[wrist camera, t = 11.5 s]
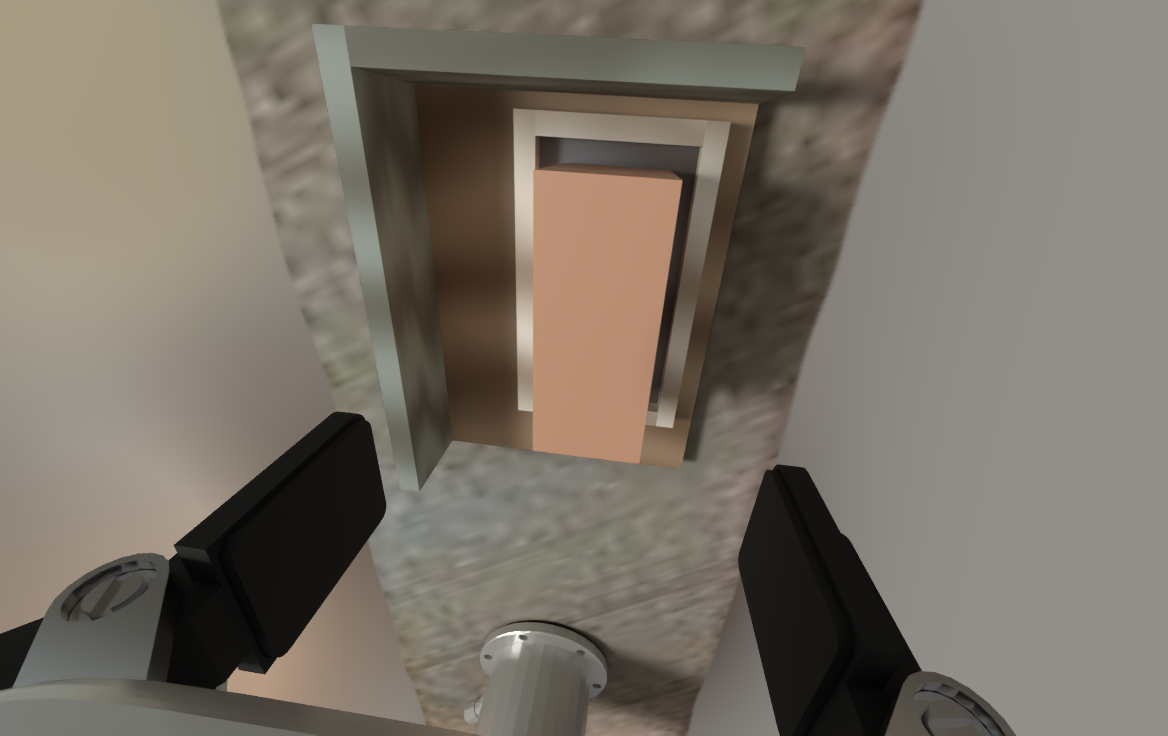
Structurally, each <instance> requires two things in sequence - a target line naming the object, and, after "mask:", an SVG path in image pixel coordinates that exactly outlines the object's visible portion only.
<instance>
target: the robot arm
mask: <svg viewBox="0 0 1168 736" xmlns="http://www.w3.org/2000/svg"><path fill="white" fill-rule="evenodd" d="M385 511H386V500H385V495H384V490H383V485H382V480H381V475H380V470H379V464H378V459H377V454H376V449H375V444H374V439H373V434H372V429H371V425H370V423H369V422H368V421H365V418H364V417H363V416H362V415H360V414H355V413H346V412H334V413H332V414H331V415H330V416H328V417H327V418H326V419H325V420H324V421H322V422H321V423H320V424H319V425H318V426H316V427H315V428H314V429H313V430H312V431H310V432H309V433H308V434H307V435H306V436H304V437H303V438H302V439H301V440H300V441H298V442H297V443H296V444H295V445H294V446H292V447H291V448H290V449H289V450H288V451H286V452H285V453H284V454H283V455H282V456H280V457H279V458H278V459H277V460H276V461H274V462H273V463H272V464H271V465H270V466H268V467H267V468H266V469H265V470H263V471H262V472H261V473H260V474H259V475H257V476H256V477H255V478H254V479H253V480H251V481H250V482H249V483H248V484H247V485H245V486H244V487H243V488H242V489H241V490H239V491H238V492H237V493H236V494H235V495H233V496H232V497H231V498H230V499H229V500H228V501H226V502H225V503H224V504H223V505H221V506H220V507H219V508H218V509H217V510H215V511H214V512H213V513H212V514H211V515H209V516H208V517H207V518H206V519H205V520H203V521H202V522H201V523H200V524H199V525H197V526H196V527H195V528H194V529H193V530H191V531H190V532H189V533H188V534H187V535H185V536H184V537H183V538H182V539H181V540H179V541H178V542H177V543H176V544H175V545H174V547H175V549H176V551H177V554H176V555H174V556H173V557H172V558H171V559H170V560H169V561H168V560H167V559H166V558H165V557H164V556H163V555H159V554H155V553H143V554H142V553H141V554H135V555H131V556H127V557H122V558H119V559H117V560H114V561H112V562H109V563H106V564H104V565H102V566H100V567H98V568H96V569H94V570H92V571H90V572H88V573H87V574H85V575H84V576H82V577H81V578H79V579H78V580H76V581H75V582H73V583H72V584H70V585H69V586H68V587H67V588H66V589H65V590H64V591H63V592H62V593H61V594H60V595H58V596H57V597H56V598H55V600H54V601H53V603H52V604H51V606H50V607H49V609H48V610H47V612H46V614H45V616H44V618H41V619H39V620H36V621H33V622H30V623H28V624H25V625H22V626H20V627H17V628H15V629H12V630H9V631H7V632H4V633H1V634H0V736H585V735H586V724H587V713H588V703H589V700H591V699H593V698H594V697H596V696H597V695H598V694H599V693H601V692H602V690H603V689H604V687H605V686H606V681H607V663H606V660H605V658H604V656H603V655H602V653H601V651H600V650H599V649H598V648H597V647H596V646H595V645H594V644H593V643H591V642H590V641H589V640H587V639H586V638H585V637H583V636H581V635H579V634H577V633H575V632H573V631H571V630H568V629H566V628H563V627H559V626H556V625H552V624H546V623H539V622H521V623H514V624H510V625H506V626H503V627H501V628H499V629H497V630H495V631H494V632H492V633H491V634H490V635H489V636H488V637H487V638H486V640H485V642H484V645H483V648H482V650H481V655H480V662H481V666H482V668H483V670H484V672H485V674H486V675H487V676H488V678H489V682H488V685H487V689H486V690H485V691H484V692H483V694H482V696H481V697H478V698H476V699H474V700H472V701H470V702H468V703H467V705H466V706H465V709H464V718H465V720H466V722H467V723H469V724H475V723H477V726H476V729H475V733H474V734H472V733H466V732H460V731H455V730H449V729H443V728H438V727H432V726H426V725H420V724H415V723H409V722H403V721H398V720H392V719H386V718H381V717H375V716H369V715H363V714H357V713H352V712H345V711H340V710H333V709H328V708H322V707H316V706H311V705H305V704H299V703H293V702H287V701H281V700H275V699H270V698H263V697H258V696H252V695H246V694H239V693H233V692H227V679H228V678H229V676H230V675H231V674H232V673H233V671H234V670H235V669H236V668H237V667H238V668H239V670H243V671H248V672H254V673H260V674H266V672H267V671H268V669H269V668H270V667H271V665H272V664H273V662H274V661H275V660H276V658H277V657H282V656H283V655H285V654H286V653H287V652H288V651H289V649H290V648H291V647H292V645H293V644H294V643H295V641H296V640H297V638H298V637H299V636H300V634H301V633H302V631H303V630H304V629H305V627H306V626H307V624H308V623H309V622H310V620H311V619H312V617H313V616H314V615H315V613H316V612H317V610H318V609H319V608H320V606H321V605H322V603H323V602H324V600H325V599H326V597H327V596H328V595H329V593H330V592H331V591H332V589H333V588H334V586H335V585H336V584H337V582H338V581H339V579H340V578H341V577H342V575H343V574H344V572H345V571H346V570H347V568H348V567H349V565H350V564H351V562H352V561H353V560H354V558H355V557H356V555H357V554H358V553H359V551H360V550H361V548H362V547H363V546H364V544H365V543H366V541H367V540H368V539H369V537H370V536H371V534H372V533H373V532H374V530H375V529H376V527H377V526H378V525H379V523H380V522H381V520H382V519H383V517H384V514H385ZM738 564H739V571H740V575H741V579H742V583H743V587H744V591H745V595H746V599H747V603H748V608H749V612H750V615H751V620H752V624H753V628H754V632H755V637H756V640H757V645H758V649H759V653H760V657H761V661H762V665H763V669H764V674H765V678H766V681H767V686H768V690H769V694H770V698H771V702H772V707H773V710H774V715H775V719H776V723H777V727H778V731H779V734H780V736H1016V735H1015V733H1014V732H1013V731H1012V729H1011V728H1010V726H1009V725H1008V724H1007V722H1006V721H1005V719H1004V718H1003V717H1002V716H1001V715H1000V714H999V713H998V712H997V711H996V710H995V709H994V708H993V707H992V706H991V705H990V704H989V703H988V702H987V701H985V700H984V699H983V698H981V697H980V696H979V695H977V694H976V693H975V692H974V691H973V690H971V689H970V688H968V687H967V686H965V685H963V684H961V683H959V682H958V681H956V680H954V679H952V678H950V677H947V676H944V675H941V674H938V673H936V672H926V671H925V672H924V671H922V670H921V669H920V667H919V665H918V663H917V661H916V660H915V658H914V656H913V654H912V652H911V650H910V649H909V647H908V645H907V643H906V641H905V639H904V638H903V636H902V634H901V632H900V630H899V629H898V627H897V625H896V623H895V621H894V619H893V618H892V616H891V614H890V612H889V610H888V609H887V607H886V605H885V603H884V601H883V600H882V598H881V596H880V594H879V593H878V591H877V589H876V587H875V585H874V583H873V581H872V580H871V578H870V576H869V574H868V572H867V570H866V569H865V567H864V565H863V563H862V561H861V560H860V558H859V556H858V554H857V552H856V551H855V549H854V547H853V545H852V543H851V542H850V541H849V539H848V538H847V537H846V536H844V535H843V534H841V533H840V531H839V529H838V527H837V525H836V523H835V522H834V520H833V518H832V516H831V514H830V512H829V510H828V509H827V507H826V505H825V503H824V501H823V499H822V497H821V495H820V494H819V492H818V490H817V488H816V486H815V484H814V482H813V481H812V479H811V477H810V475H809V473H808V472H807V470H806V469H805V468H803V467H795V466H787V465H779V464H778V465H776V466H775V467H774V469H773V470H767V471H766V472H765V474H764V477H763V480H762V483H761V486H760V489H759V492H758V495H757V499H756V502H755V505H754V508H753V511H752V514H751V517H750V520H749V523H748V527H747V530H746V533H745V536H744V539H743V542H742V545H741V548H740V552H739V558H738Z"/></svg>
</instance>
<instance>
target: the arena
mask: <svg viewBox="0 0 1168 736" xmlns="http://www.w3.org/2000/svg"><path fill="white" fill-rule="evenodd" d="M312 29H313V34H314V39H315V45H316V50H317V55H318V60H319V66H320V71H321V76H322V81H323V87H324V92H325V97H326V102H327V108H328V113H329V118H330V123H331V129H332V134H333V139H334V144H335V150H336V155H337V160H338V165H339V171H340V176H341V181H342V186H343V192H344V197H345V202H346V207H347V213H348V218H349V223H350V228H351V234H352V239H353V244H354V249H355V255H356V260H357V265H358V270H359V276H360V281H361V286H362V291H363V297H364V302H365V307H366V312H367V318H368V323H369V328H370V333H371V339H372V344H373V349H374V354H375V360H376V365H377V370H378V375H379V381H380V386H381V391H382V396H383V402H384V407H385V412H386V417H387V423H388V428H389V433H390V438H391V444H392V449H393V454H394V459H395V465H396V470H397V475H398V480H399V486H400V489H405V490H413V491H420V490H421V488H422V487H423V485H424V484H425V482H426V480H427V479H428V477H429V476H430V474H431V473H432V471H433V470H434V468H435V466H436V465H437V463H438V462H439V460H440V459H441V457H442V456H443V454H444V452H445V451H446V449H447V448H448V446H449V445H450V443H451V442H452V440H454V441H462V442H470V443H478V444H486V445H494V446H503V447H511V448H519V449H527V450H533V170H534V169H539V168H543V167H548V166H553V165H557V164H562V163H577V164H591V165H605V166H620V167H634V168H648V169H663V170H671V171H672V172H673V173H674V174H675V175H677V176H678V177H679V178H680V179H682V187H681V194H680V200H679V207H678V213H677V220H676V226H675V233H674V239H673V246H672V253H671V259H670V266H669V272H668V279H667V285H666V292H665V298H664V305H663V312H662V318H661V325H660V331H659V338H658V344H657V351H656V357H655V364H654V371H653V377H652V384H651V390H650V397H649V403H648V410H647V416H646V423H645V430H644V436H643V443H642V449H641V456H640V462H639V464H647V465H655V466H664V467H672V468H680V469H681V466H682V461H683V457H684V452H685V447H686V443H687V438H688V433H689V429H690V424H691V419H692V415H693V410H694V405H695V401H696V396H697V391H698V387H699V382H700V377H701V373H702V368H703V363H704V358H705V354H706V349H707V344H708V340H709V335H710V330H711V326H712V321H713V316H714V312H715V307H716V302H717V298H718V293H719V288H720V284H721V279H722V274H723V270H724V265H725V260H726V255H727V251H728V246H729V241H730V237H731V232H732V227H733V223H734V218H735V213H736V209H737V204H738V199H739V195H740V190H741V185H742V181H743V176H744V171H745V167H746V162H747V157H748V152H749V148H750V143H751V138H752V134H753V129H754V124H755V120H756V115H757V110H758V106H759V104H760V103H763V102H766V101H769V100H771V99H774V98H777V97H780V96H783V95H785V94H788V93H791V92H794V91H795V89H796V85H797V80H798V76H799V72H800V68H801V64H802V60H803V56H804V52H805V48H806V47H793V46H772V45H750V44H729V43H708V42H687V41H665V40H644V39H623V38H601V37H580V36H559V35H537V34H516V33H495V32H474V31H452V30H431V29H410V28H388V27H367V26H346V25H324V24H312Z"/></svg>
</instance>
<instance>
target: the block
mask: <svg viewBox="0 0 1168 736" xmlns="http://www.w3.org/2000/svg"><path fill="white" fill-rule="evenodd" d="M681 187H682V179H680V178H679V177H678V176H677V175H675V174H674V173H673V172H672V171H671V170H663V169H648V168H634V167H620V166H605V165H591V164H577V163H562V164H557V165H553V166H548V167H543V168H539V169H534V170H533V451H540V452H548V453H556V454H565V455H573V456H581V457H589V458H597V459H605V460H613V461H621V462H629V463H637V464H639V462H640V456H641V449H642V443H643V436H644V430H645V423H646V416H647V410H648V403H649V397H650V390H651V384H652V377H653V371H654V364H655V357H656V351H657V344H658V338H659V331H660V325H661V318H662V312H663V305H664V298H665V292H666V285H667V279H668V272H669V266H670V259H671V253H672V246H673V239H674V233H675V226H676V220H677V213H678V207H679V200H680V194H681Z"/></svg>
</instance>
